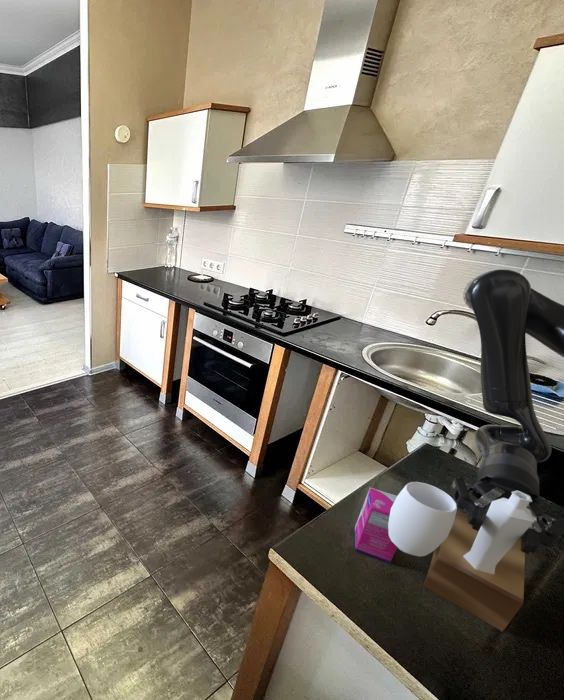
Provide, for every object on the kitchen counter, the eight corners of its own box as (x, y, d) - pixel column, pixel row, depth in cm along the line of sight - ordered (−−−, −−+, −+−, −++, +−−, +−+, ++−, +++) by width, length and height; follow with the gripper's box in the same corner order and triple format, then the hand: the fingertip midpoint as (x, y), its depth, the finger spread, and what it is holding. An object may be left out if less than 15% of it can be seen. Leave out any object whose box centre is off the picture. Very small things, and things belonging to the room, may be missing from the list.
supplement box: (352, 528, 77) (369, 485, 72) (387, 541, 74) (407, 498, 69) (353, 550, 72) (371, 506, 67) (390, 565, 69) (412, 520, 65)
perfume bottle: (486, 580, 59) (532, 511, 53) (456, 556, 63) (495, 489, 57) (506, 572, 61) (553, 504, 54) (475, 549, 64) (515, 483, 58)
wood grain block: (438, 533, 76) (451, 508, 73) (507, 567, 69) (525, 541, 66) (423, 586, 66) (438, 558, 63) (502, 632, 59) (523, 604, 56)
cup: (360, 559, 70) (397, 473, 62) (408, 576, 67) (453, 488, 59) (365, 593, 64) (406, 503, 56) (417, 613, 61) (469, 522, 53)
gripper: (462, 446, 71) (450, 492, 60) (579, 487, 61) (588, 551, 51) (447, 476, 74) (432, 525, 63) (555, 520, 64) (560, 587, 54)
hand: (502, 536), depth 57 cm, fingers open, 5 cm apart
